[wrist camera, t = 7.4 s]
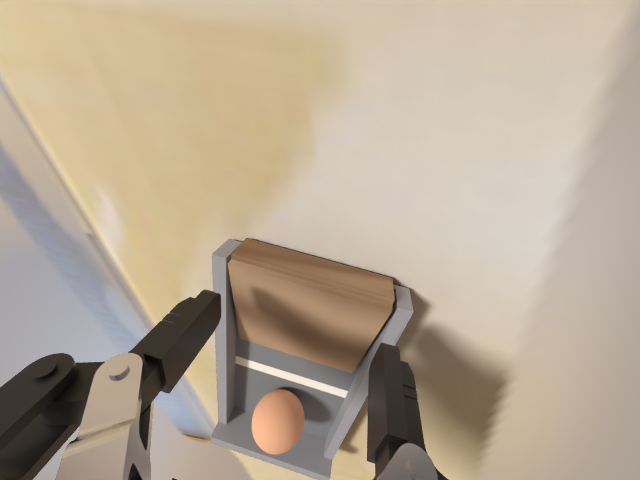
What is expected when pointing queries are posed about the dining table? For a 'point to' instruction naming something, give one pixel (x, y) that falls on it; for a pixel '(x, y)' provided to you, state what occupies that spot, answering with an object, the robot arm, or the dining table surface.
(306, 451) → the lane
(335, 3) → the dining table surface
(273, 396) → the ball
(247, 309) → the ramp
